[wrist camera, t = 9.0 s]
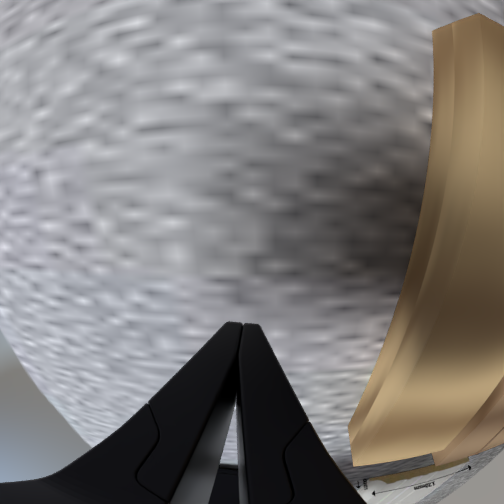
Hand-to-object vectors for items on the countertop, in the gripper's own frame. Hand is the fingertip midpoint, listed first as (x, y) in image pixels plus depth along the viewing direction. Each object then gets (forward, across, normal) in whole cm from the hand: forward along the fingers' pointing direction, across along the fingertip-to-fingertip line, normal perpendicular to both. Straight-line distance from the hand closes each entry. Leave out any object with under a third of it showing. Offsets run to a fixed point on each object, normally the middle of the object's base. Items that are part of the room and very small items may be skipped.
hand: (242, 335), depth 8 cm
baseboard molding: (+4, -16, +34) cm, 38 cm away
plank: (+3, -8, 0) cm, 9 cm away
